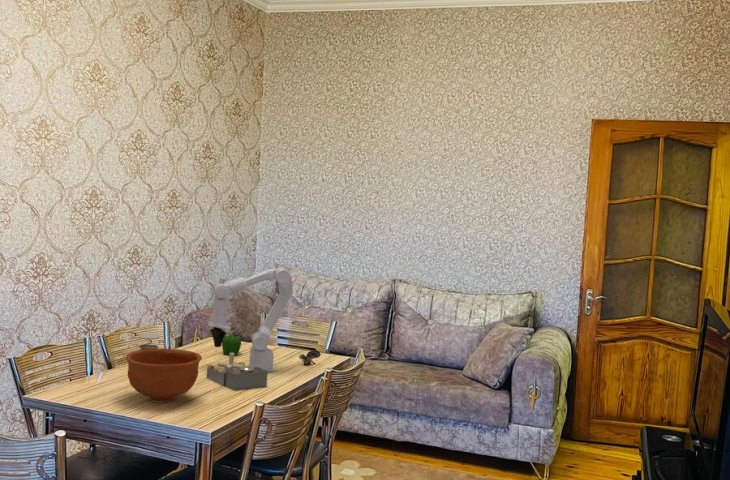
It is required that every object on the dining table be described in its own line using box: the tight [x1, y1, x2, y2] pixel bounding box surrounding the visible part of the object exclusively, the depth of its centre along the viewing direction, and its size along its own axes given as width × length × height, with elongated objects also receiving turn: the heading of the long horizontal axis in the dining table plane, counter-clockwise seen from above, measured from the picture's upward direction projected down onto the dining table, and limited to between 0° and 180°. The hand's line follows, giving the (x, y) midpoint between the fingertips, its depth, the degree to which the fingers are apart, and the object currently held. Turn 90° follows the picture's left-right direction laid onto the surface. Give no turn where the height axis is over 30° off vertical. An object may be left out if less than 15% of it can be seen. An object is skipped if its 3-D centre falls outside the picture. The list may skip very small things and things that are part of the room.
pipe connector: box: [217, 353, 244, 372], centre depth 277 cm, size 10×10×10 cm
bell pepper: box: [221, 331, 242, 356], centre depth 320 cm, size 8×8×10 cm
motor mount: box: [206, 361, 269, 391], centre depth 272 cm, size 15×20×7 cm
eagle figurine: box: [298, 349, 321, 365], centre depth 312 cm, size 8×7×9 cm
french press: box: [138, 307, 168, 350], centre depth 278 cm, size 10×12×25 cm
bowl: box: [125, 347, 203, 403], centre depth 242 cm, size 25×25×15 cm
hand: (217, 346), depth 289 cm, fingers closed
